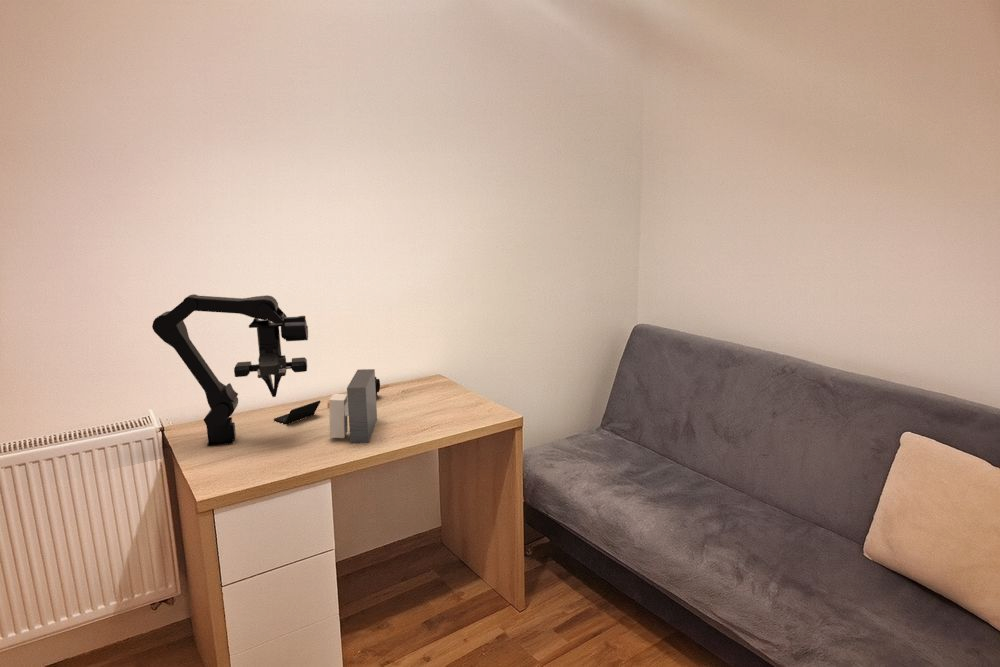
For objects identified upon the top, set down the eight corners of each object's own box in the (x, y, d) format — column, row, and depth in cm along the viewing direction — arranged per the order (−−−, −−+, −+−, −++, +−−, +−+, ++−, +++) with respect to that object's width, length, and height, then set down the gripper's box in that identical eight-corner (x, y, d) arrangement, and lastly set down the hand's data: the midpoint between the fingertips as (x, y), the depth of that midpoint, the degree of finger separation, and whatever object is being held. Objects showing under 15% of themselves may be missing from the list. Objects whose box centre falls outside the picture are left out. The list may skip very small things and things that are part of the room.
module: (326, 437, 179) (326, 399, 177) (330, 431, 184) (330, 394, 182) (344, 438, 180) (344, 400, 177) (347, 431, 185) (347, 394, 182)
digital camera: (373, 406, 209) (372, 385, 207) (357, 406, 209) (355, 385, 207) (380, 396, 219) (379, 376, 217) (364, 396, 219) (363, 376, 217)
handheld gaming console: (296, 405, 205) (307, 385, 200) (312, 420, 204) (324, 400, 199) (270, 422, 196) (280, 401, 190) (287, 438, 195) (298, 417, 189)
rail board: (346, 443, 178) (343, 388, 175) (357, 420, 196) (354, 369, 192) (368, 442, 179) (365, 387, 175) (377, 420, 196) (374, 369, 193)
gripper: (228, 351, 167) (235, 409, 171) (304, 346, 172) (308, 402, 176) (234, 342, 178) (239, 396, 181) (305, 337, 183) (309, 390, 186)
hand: (274, 396), depth 181 cm, fingers closed
